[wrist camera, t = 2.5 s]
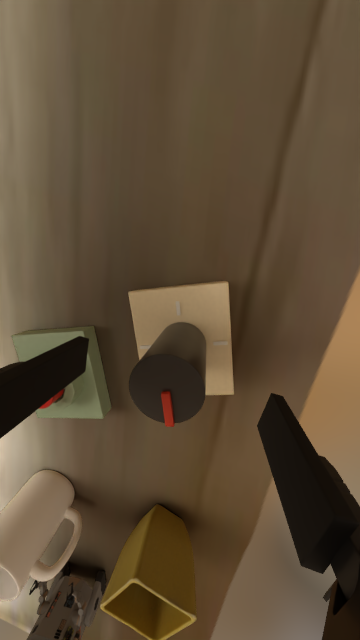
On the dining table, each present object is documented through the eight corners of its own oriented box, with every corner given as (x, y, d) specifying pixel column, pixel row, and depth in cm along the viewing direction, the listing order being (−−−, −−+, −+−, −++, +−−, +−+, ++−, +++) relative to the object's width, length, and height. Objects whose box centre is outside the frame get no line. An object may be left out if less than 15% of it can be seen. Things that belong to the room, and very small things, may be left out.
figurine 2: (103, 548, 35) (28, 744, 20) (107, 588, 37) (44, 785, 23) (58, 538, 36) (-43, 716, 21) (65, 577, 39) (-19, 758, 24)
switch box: (27, 330, 26) (-5, 340, 22) (94, 325, 24) (72, 335, 20) (50, 407, 28) (25, 428, 25) (111, 407, 27) (95, 429, 23)
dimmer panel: (138, 289, 22) (127, 292, 19) (225, 280, 21) (228, 281, 18) (152, 381, 25) (144, 396, 22) (230, 379, 23) (234, 396, 20)
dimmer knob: (155, 323, 20) (120, 357, 12) (204, 320, 19) (201, 354, 11) (162, 367, 21) (133, 426, 13) (208, 366, 20) (208, 428, 12)
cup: (33, 461, 32) (-44, 545, 22) (100, 486, 31) (50, 585, 21) (30, 495, 34) (-41, 584, 24) (92, 519, 33) (44, 622, 23)
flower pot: (201, 520, 29) (198, 622, 21) (170, 545, 32) (156, 647, 23) (154, 488, 29) (132, 578, 21) (127, 516, 32) (97, 608, 23)
